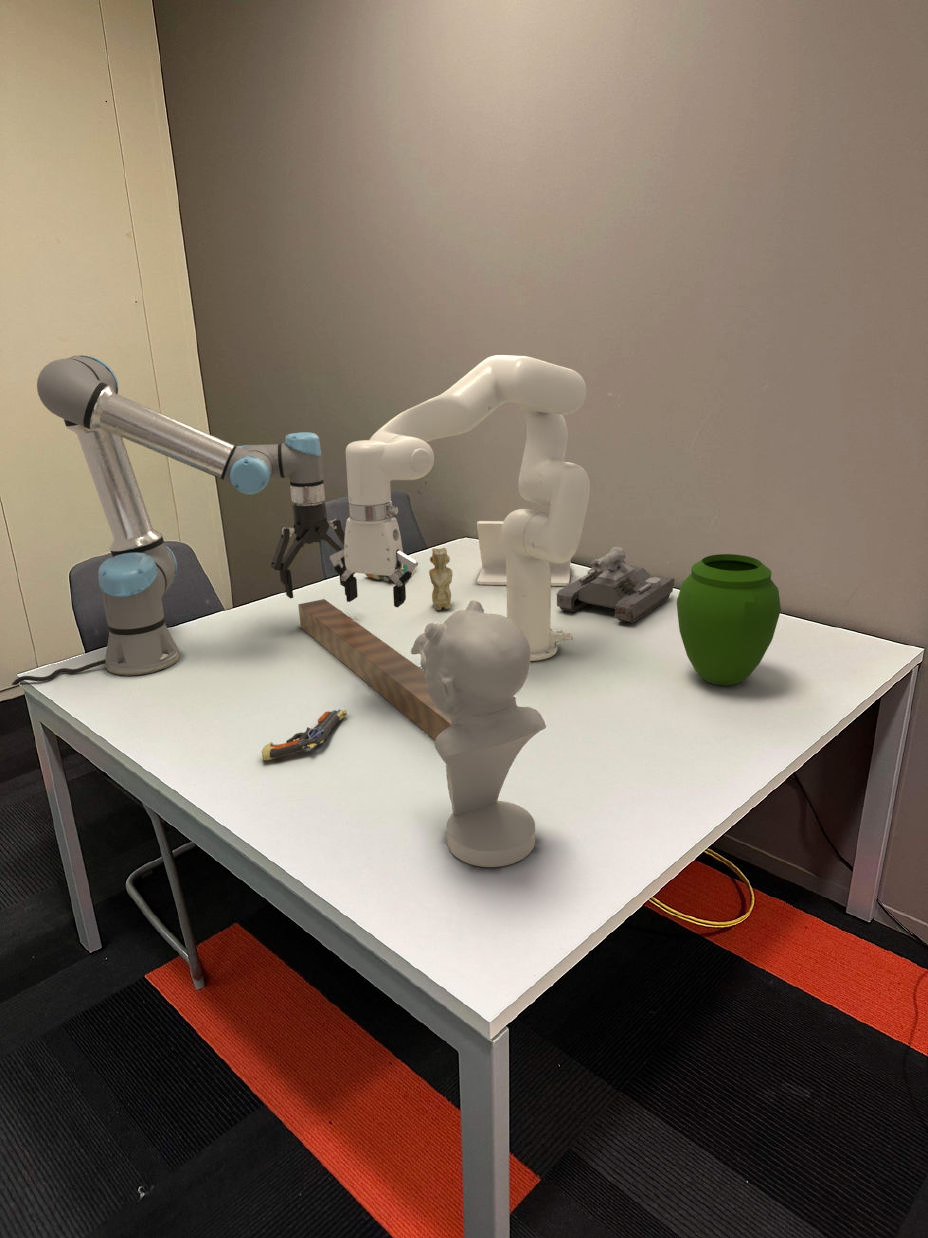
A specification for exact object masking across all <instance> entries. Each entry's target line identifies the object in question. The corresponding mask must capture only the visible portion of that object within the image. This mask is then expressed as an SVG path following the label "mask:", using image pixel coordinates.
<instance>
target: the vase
mask: <svg viewBox="0 0 928 1238" xmlns="http://www.w3.org/2000/svg"><path fill="white" fill-rule="evenodd" d="M690 568H691V569H690V571H691V573H690V574H689V575H688V576H687V577H686V578H685V579H683V581H682V582H681V585H680V589H679V592H678V596H677V598H676V611H677V621H678V629H679V635H680V638H681V641H682V644H683V647H684V650H685V653H686V656H687V658H688V660H689V662H690V664H691V665H692V667H693V669H694V671H695V672H696V673H697V674H698V676H699V677H700V678H701V679H702V680H704V681H706V682H707V683H710V684H713V685H717V686H734V685H738V684H740V683H742V682H744V680H746V679H747V678H748V677H749V676H751V674H752V673H753V672H754V671H755V670H756V669H757V667H758V666H759V665H760V664H761V662H762V660H763V659H764V657H765V654H766V653H767V652H768V649H769V647H770V645H771V643H772V641H773V639H774V636H775V632H776V628H777V625H778V621H779V618H780V614H781V611H782V607H781V606H782V605H781V599H780V591H779V588H778V586H777V585H776V584H775V582H774V581H773V579H772V575H773V573H772V570H771V569H770V568H769V567H768V566H767V565H765V564H764V563H763V562H762V561H761V560H759V559H757V558H755V557H752V556H749V555H748V556H747V555H743V554H735V553H722V554H721V553H720V554H711V555H708V556H705V557H703V558H702V559H701V560H699V561H697V562H695V563H694V564H692V565H691V567H690Z"/></svg>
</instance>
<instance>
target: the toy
mask: <svg viewBox="0 0 928 1238" xmlns="http://www.w3.org/2000/svg"><path fill="white" fill-rule="evenodd" d="M626 557H627V556H626V551H625V549H624V548H622V547H621V546H614V547H612V548H611V549H610V550H609V552H608V553H607V554H605V555H604V556H601V557H599V558H598V559H597V557H596V558H594V559H593V560H592V561H590V562H589V563H590V564H591V565H592V567H591V568H590V569H589V570H587V573H586V575H584V576H582V577H580V578H578V579H577V580H575V581H573V582H570V583H569V585H567V586H563V587H562V588H560V589H559V590H558V591H557V592H556V607H558V608H559V609H560V610H562V611H566V612H572V613H575V612H577V611H579V610H581V609H582V608H585V607H586V606H588V605H592V606H598V607H602V608H603V607H604V608H609V609H613V610H614V618H615V619H617V620H618V621H621V622H626V623H631V624H634V623H635V622H637V621H638V620H640V619H641V618H642V617H644V616H645V615H647V614H648V613H650V612H651V611H652V610H654V609H655V608H657V607H659V606H660V605H661V604H663V603H664V602H666V601H667V600H669V598H670V596H671V594H672V593H673V591H674V585H675V580H676V579H675V578H673V577H668V576H663V575H656V576H655V577H654V576H651V574H650V573H649V572H648V571H647V570H646V568H644V567H641V566H635V565H629V564H628V563H627V562H626V561H625V559H626Z"/></svg>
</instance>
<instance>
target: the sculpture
mask: <svg viewBox="0 0 928 1238" xmlns="http://www.w3.org/2000/svg"><path fill="white" fill-rule="evenodd" d="M431 551H432V554H431V556H430V557H429V562H430V563H431V564H432V565H433V566H434V567H433V568H430V569H429V571H428V574H429V579H430V582H431V585H432V586H433V590H432V593H431V601H432V604H433V605H434V607H435V610H436V611H440V610H442V608H444V610H449V609H451V600H452V592H451V588H450V586H451V585H450V584H451V583H452V580H453V570H452V569H451V568H450V567H447V565H448V564H449V563H450V561H451V558H450V556H449V555H448V550H447V548H446V547H442V548H432V549H431Z"/></svg>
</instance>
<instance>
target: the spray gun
mask: <svg viewBox="0 0 928 1238" xmlns="http://www.w3.org/2000/svg"><path fill="white" fill-rule="evenodd" d="M401 570H402V572H403V573H404V574H405V573H406V571H407V566H406V565H405V564H403V568H401ZM364 575H365V576H366V577H368V578H371V579H374V580H382V579H384V578H385V579H386V578H387V579H388V580H390V581H393V580H392V579H391V578H390V577H389V576H384V575H373V574H364Z"/></svg>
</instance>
